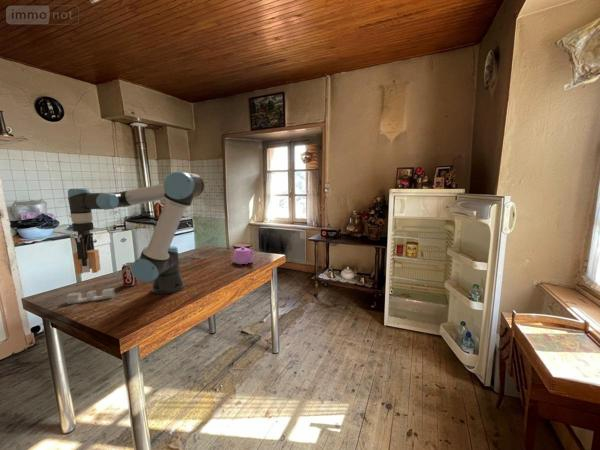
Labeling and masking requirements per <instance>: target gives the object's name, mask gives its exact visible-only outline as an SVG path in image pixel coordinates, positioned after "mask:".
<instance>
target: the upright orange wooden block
mask: <svg viewBox="0 0 600 450" xmlns="http://www.w3.org/2000/svg"><path fill="white" fill-rule="evenodd" d="M99 250H100V249H94V250H87V258H89V263H91V267H92V269H91V273H92V274H95V273H98V272H99V271H100V270H101V263H100V253H99ZM72 254H73V255H72V256H73V261H74V266H75V275H82V274H83V273H82V266H81V259H80V260H78V255H77V251H75V252H74V253H72Z"/></svg>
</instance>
